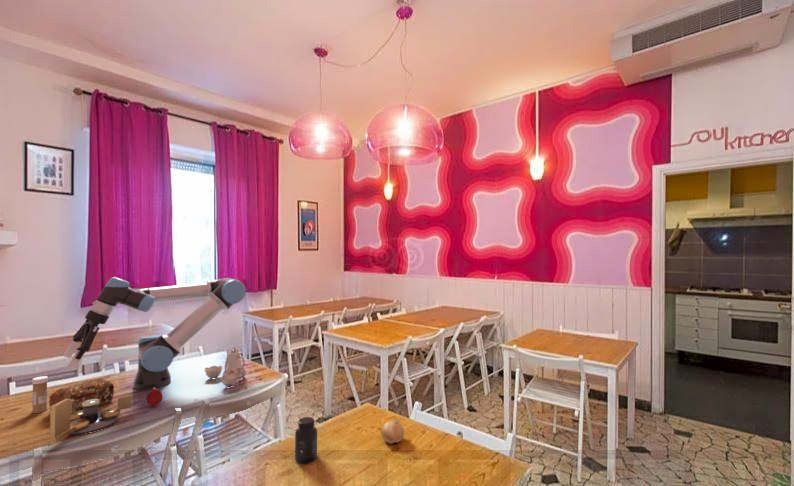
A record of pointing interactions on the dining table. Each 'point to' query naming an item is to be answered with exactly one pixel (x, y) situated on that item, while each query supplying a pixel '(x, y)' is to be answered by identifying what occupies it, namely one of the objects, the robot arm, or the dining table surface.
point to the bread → (84, 393)
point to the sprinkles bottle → (39, 394)
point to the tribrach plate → (98, 414)
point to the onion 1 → (154, 397)
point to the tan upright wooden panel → (63, 422)
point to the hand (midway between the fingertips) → (69, 361)
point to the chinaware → (229, 369)
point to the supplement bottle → (306, 441)
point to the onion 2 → (392, 432)
